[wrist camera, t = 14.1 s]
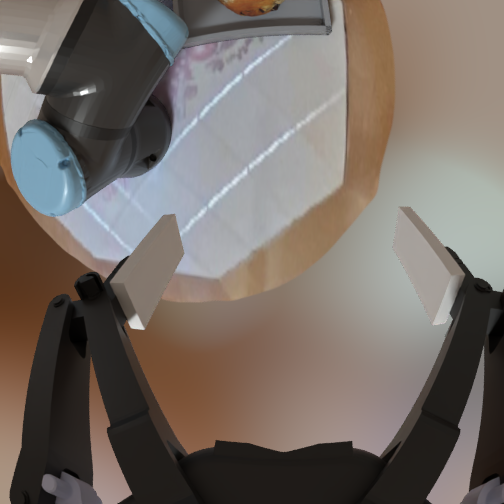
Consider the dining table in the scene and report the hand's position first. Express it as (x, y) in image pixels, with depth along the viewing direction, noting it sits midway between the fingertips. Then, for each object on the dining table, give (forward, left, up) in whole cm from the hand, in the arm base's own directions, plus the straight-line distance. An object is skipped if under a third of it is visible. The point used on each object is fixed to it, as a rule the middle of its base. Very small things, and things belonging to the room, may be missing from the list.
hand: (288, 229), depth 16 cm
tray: (-3, +25, -29) cm, 38 cm away
